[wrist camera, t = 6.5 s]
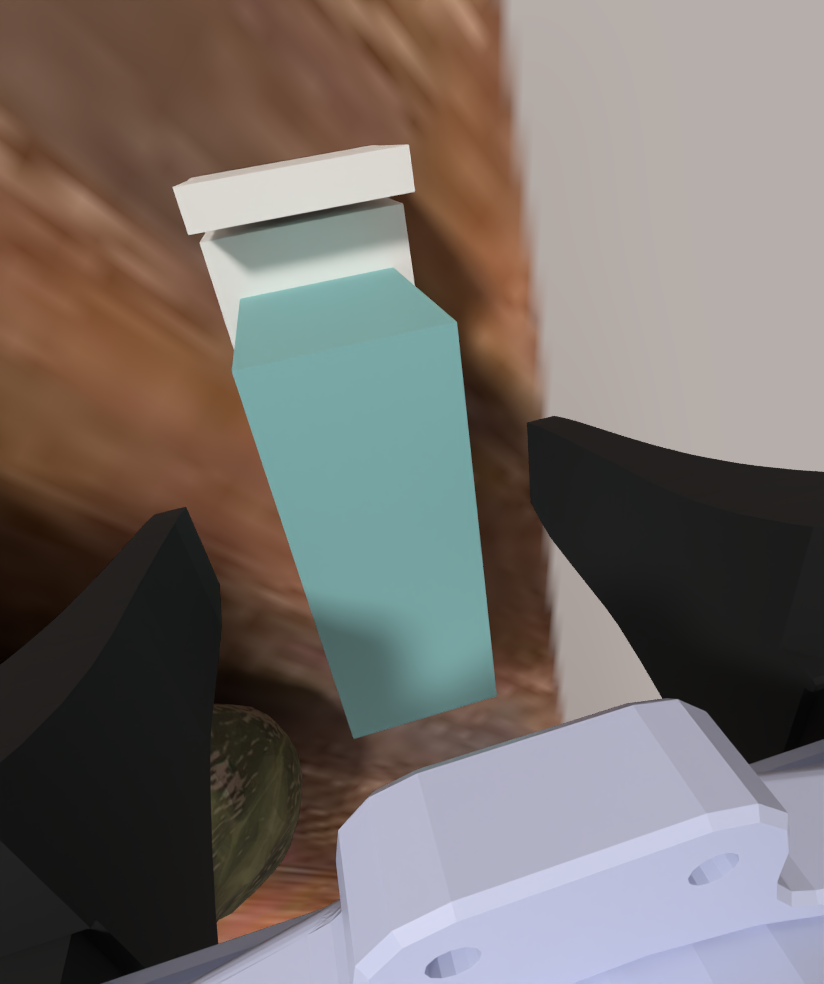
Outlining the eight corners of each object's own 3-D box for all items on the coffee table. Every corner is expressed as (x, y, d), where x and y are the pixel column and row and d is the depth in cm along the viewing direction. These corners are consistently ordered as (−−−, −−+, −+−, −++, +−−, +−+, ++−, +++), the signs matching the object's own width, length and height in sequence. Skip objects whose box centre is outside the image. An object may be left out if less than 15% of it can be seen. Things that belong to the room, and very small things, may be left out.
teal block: (440, 568, 18) (496, 695, 14) (330, 598, 18) (353, 738, 13) (393, 267, 13) (457, 322, 9) (240, 298, 13) (231, 371, 9)
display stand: (432, 529, 22) (473, 616, 17) (311, 561, 21) (324, 658, 17) (371, 145, 15) (414, 143, 11) (192, 177, 14) (167, 188, 10)
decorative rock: (156, 849, 30) (118, 1133, 22) (-244, 784, 21) (-541, 1219, 13) (354, 697, 25) (395, 986, 17) (-50, 533, 16) (-328, 969, 9)
